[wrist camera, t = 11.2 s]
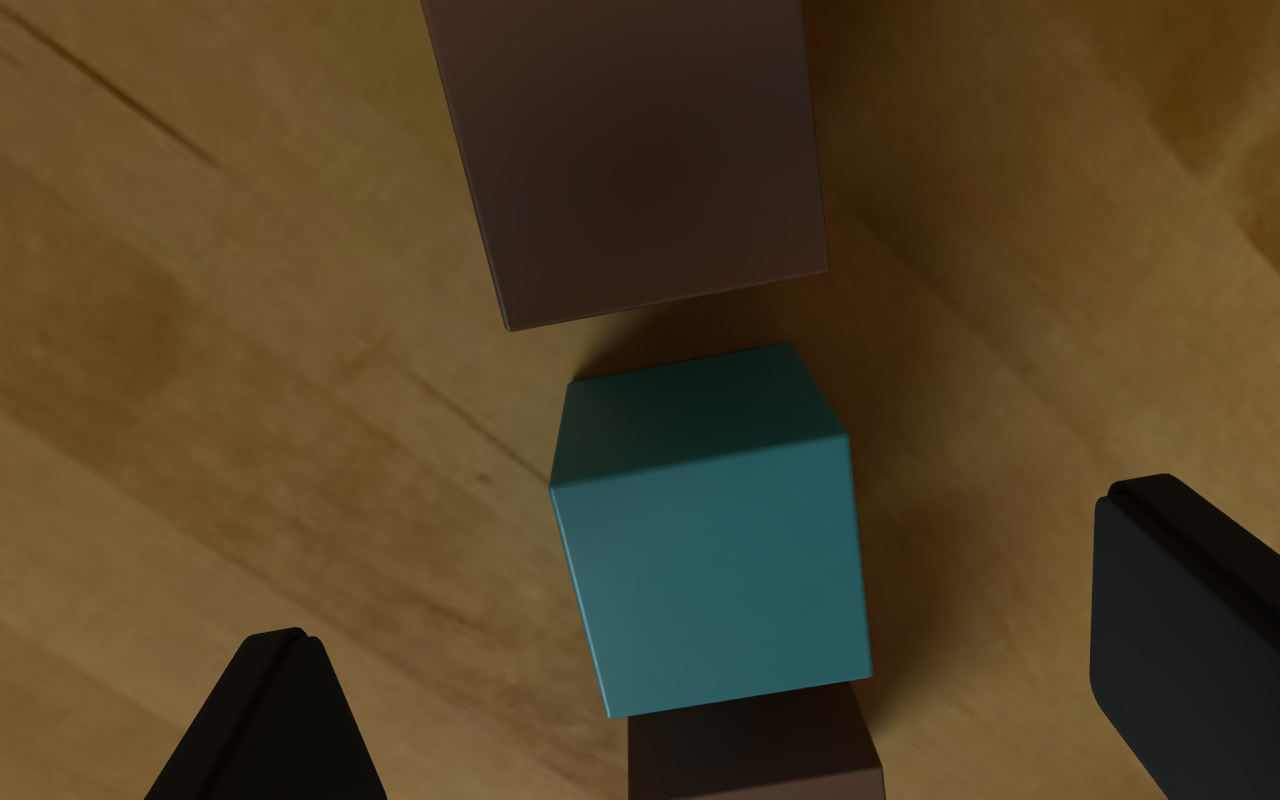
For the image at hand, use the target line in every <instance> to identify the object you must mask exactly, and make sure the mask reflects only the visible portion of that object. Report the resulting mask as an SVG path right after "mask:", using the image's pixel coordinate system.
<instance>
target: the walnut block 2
mask: <svg viewBox="0 0 1280 800" xmlns="http://www.w3.org/2000/svg"><path fill="white" fill-rule="evenodd" d="M628 800H886V794H885V785H884V775H883V767H882V764H881V761H880V759H879V756H878V753H877V751H876V748H875V745H874V743H873V740H872V737H871V735H870V732H869V730H868V727H867V724H866V722H865V719H864V716H863V714H862V711H861V708H860V706H859V703H858V700H857V698H856V695H855V692H854V690H853V687H852V684H851V682H850V681H844V682H838V683H832V684H826V685H819V686H813V687H807V688H801V689H795V690H788V691H782V692H776V693H770V694H764V695H757V696H751V697H745V698H739V699H733V700H726V701H720V702H714V703H708V704H701V705H695V706H689V707H683V708H677V709H670V710H664V711H658V712H652V713H646V714H639V715H633V716H628Z"/></svg>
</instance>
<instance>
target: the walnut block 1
mask: <svg viewBox="0 0 1280 800" xmlns="http://www.w3.org/2000/svg"><path fill="white" fill-rule="evenodd" d="M420 1H421V5H422V8H423V12H424V16H425V20H426V24H427V28H428V32H429V36H430V39H431V43H432V47H433V51H434V55H435V59H436V63H437V67H438V70H439V74H440V78H441V82H442V86H443V90H444V94H445V98H446V101H447V105H448V109H449V113H450V117H451V121H452V125H453V129H454V132H455V136H456V140H457V144H458V148H459V152H460V156H461V160H462V163H463V167H464V171H465V175H466V179H467V183H468V187H469V191H470V194H471V198H472V202H473V206H474V210H475V214H476V218H477V222H478V225H479V229H480V233H481V237H482V241H483V245H484V249H485V253H486V256H487V260H488V264H489V268H490V272H491V276H492V280H493V284H494V287H495V291H496V295H497V299H498V303H499V307H500V311H501V315H502V318H503V322H504V326H505V328H506V329H507V331H510V332H514V331H520V330H525V329H530V328H536V327H541V326H546V325H552V324H557V323H562V322H568V321H573V320H578V319H584V318H589V317H594V316H599V315H605V314H610V313H615V312H621V311H626V310H631V309H637V308H642V307H647V306H653V305H658V304H663V303H669V302H674V301H679V300H684V299H690V298H695V297H700V296H706V295H711V294H716V293H722V292H727V291H732V290H738V289H743V288H748V287H753V286H759V285H764V284H769V283H775V282H780V281H785V280H791V279H796V278H801V277H807V276H812V275H817V274H823V273H825V272H827V271H828V269H829V257H828V247H827V238H826V228H825V219H824V209H823V200H822V190H821V181H820V171H819V162H818V152H817V143H816V133H815V124H814V114H813V105H812V96H811V86H810V77H809V67H808V58H807V48H806V39H805V29H804V20H803V10H802V1H801V0H420Z"/></svg>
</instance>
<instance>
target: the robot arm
mask: <svg viewBox="0 0 1280 800" xmlns="http://www.w3.org/2000/svg"><path fill="white" fill-rule="evenodd" d="M1090 683H1091V688H1092V691H1093V694H1094V697H1095V699H1096V701H1097V703H1098V705H1099V706H1100V708H1101V710H1102V711H1103V712H1104V714H1105V715H1106V716H1107V718H1108V719H1109V720H1110V722H1111V723H1112V724H1113V726H1114V727H1115V728H1116V730H1117V731H1118V732H1119V734H1120V735H1121V736H1122V738H1123V739H1124V740H1125V742H1126V743H1127V744H1128V746H1129V747H1130V748H1131V750H1132V751H1133V752H1134V754H1135V755H1136V756H1137V758H1138V759H1139V760H1140V762H1141V763H1142V764H1143V766H1144V767H1145V768H1146V770H1147V771H1148V772H1149V774H1150V775H1151V777H1152V778H1153V779H1154V781H1155V782H1156V783H1157V785H1158V786H1159V787H1160V789H1161V790H1162V791H1163V793H1164V794H1165V795H1166V797H1167V798H1168V799H1169V800H1280V555H1279V554H1278V553H1276V552H1275V551H1274V550H1272V549H1271V548H1270V547H1268V546H1267V545H1266V544H1264V543H1263V542H1262V541H1260V540H1259V539H1258V538H1256V537H1255V536H1254V535H1252V534H1251V533H1250V532H1248V531H1247V530H1246V529H1244V528H1243V527H1242V526H1240V525H1239V524H1238V523H1236V522H1235V521H1234V520H1232V519H1231V518H1230V517H1228V516H1227V515H1226V514H1224V513H1223V512H1222V511H1220V510H1219V509H1218V508H1216V507H1215V506H1214V505H1212V504H1211V503H1210V502H1208V501H1207V500H1206V499H1204V498H1203V497H1202V496H1200V495H1199V494H1198V493H1196V492H1195V491H1194V490H1192V489H1191V488H1190V487H1188V486H1187V485H1186V484H1184V483H1183V482H1182V481H1180V480H1179V479H1178V478H1176V477H1174V476H1172V475H1170V474H1157V475H1151V476H1145V477H1140V478H1134V479H1129V480H1123V481H1117V482H1115V483H1113V484H1112V485H1111V486H1110V488H1109V490H1108V495H1107V496H1105V497H1101V498H1099V499H1098V501H1097V502H1096V506H1095V522H1094V552H1093V583H1092V614H1091V645H1090ZM144 800H387V796H386V793H385V791H384V788H383V786H382V783H381V781H380V779H379V776H378V774H377V772H376V769H375V767H374V764H373V762H372V760H371V757H370V755H369V753H368V750H367V748H366V745H365V743H364V741H363V738H362V736H361V733H360V731H359V729H358V726H357V724H356V722H355V719H354V717H353V714H352V712H351V710H350V707H349V705H348V703H347V700H346V698H345V695H344V693H343V691H342V688H341V686H340V684H339V681H338V679H337V676H336V674H335V672H334V669H333V667H332V665H331V662H330V660H329V657H328V655H327V653H326V650H325V648H324V646H323V644H322V642H321V640H320V639H319V638H317V637H314V636H311V637H308V636H307V634H306V633H305V632H304V631H303V630H302V629H301V628H297V627H293V628H287V629H282V630H276V631H270V632H265V633H259V634H253V635H251V636H248V637H247V638H246V639H245V640H244V641H243V642H242V644H241V646H240V647H239V649H238V650H237V652H236V654H235V655H234V657H233V658H232V660H231V661H230V663H229V665H228V666H227V668H226V669H225V671H224V673H223V674H222V676H221V677H220V679H219V681H218V682H217V684H216V685H215V687H214V689H213V690H212V692H211V693H210V695H209V697H208V698H207V700H206V701H205V703H204V705H203V706H202V708H201V709H200V711H199V712H198V714H197V716H196V717H195V719H194V720H193V722H192V724H191V725H190V727H189V728H188V730H187V732H186V733H185V735H184V736H183V738H182V740H181V741H180V743H179V744H178V746H177V748H176V749H175V751H174V752H173V754H172V756H171V757H170V759H169V760H168V762H167V764H166V765H165V767H164V768H163V770H162V771H161V773H160V775H159V776H158V778H157V779H156V781H155V783H154V784H153V786H152V787H151V789H150V791H149V792H148V794H147V795H146V797H145V799H144Z"/></svg>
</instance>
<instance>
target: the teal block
mask: <svg viewBox="0 0 1280 800" xmlns="http://www.w3.org/2000/svg"><path fill="white" fill-rule="evenodd" d="M548 489H549V493H550V497H551V501H552V505H553V509H554V513H555V517H556V520H557V524H558V528H559V532H560V536H561V540H562V544H563V548H564V552H565V556H566V560H567V564H568V568H569V571H570V575H571V579H572V583H573V587H574V591H575V595H576V599H577V603H578V607H579V611H580V615H581V619H582V622H583V626H584V630H585V634H586V638H587V642H588V646H589V650H590V654H591V658H592V662H593V666H594V670H595V673H596V677H597V681H598V685H599V689H600V693H601V697H602V701H603V705H604V709H605V713H606V715H607V717H608V718H610V719H615V718H621V717H627V716H633V715H639V714H646V713H652V712H658V711H664V710H670V709H677V708H683V707H689V706H695V705H701V704H708V703H714V702H720V701H726V700H733V699H739V698H745V697H751V696H757V695H764V694H770V693H776V692H782V691H788V690H795V689H801V688H807V687H813V686H819V685H826V684H832V683H838V682H844V681H850V680H857V679H863V678H869V677H871V676H872V674H873V663H872V654H871V644H870V634H869V624H868V615H867V605H866V595H865V585H864V576H863V566H862V556H861V546H860V537H859V527H858V517H857V507H856V498H855V488H854V478H853V468H852V459H851V449H850V439H849V435H848V433H847V431H846V430H845V428H844V427H843V425H842V424H841V422H840V420H839V419H838V417H837V416H836V414H835V412H834V411H833V409H832V408H831V406H830V405H829V403H828V401H827V400H826V398H825V397H824V395H823V393H822V392H821V390H820V389H819V387H818V385H817V384H816V382H815V381H814V379H813V378H812V376H811V374H810V373H809V371H808V370H807V368H806V366H805V365H804V363H803V362H802V360H801V359H800V357H799V355H798V354H797V352H796V351H795V349H794V347H793V346H792V344H790V343H784V344H779V345H773V346H768V347H762V348H757V349H751V350H746V351H740V352H735V353H729V354H724V355H719V356H713V357H708V358H702V359H697V360H691V361H686V362H680V363H675V364H669V365H664V366H658V367H653V368H647V369H642V370H636V371H631V372H625V373H620V374H614V375H609V376H603V377H598V378H592V379H587V380H581V381H576V382H571V383H569V384H568V385H567V391H566V396H565V401H564V407H563V412H562V418H561V423H560V429H559V434H558V439H557V445H556V450H555V456H554V461H553V467H552V472H551V477H550V483H549V488H548Z"/></svg>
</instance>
